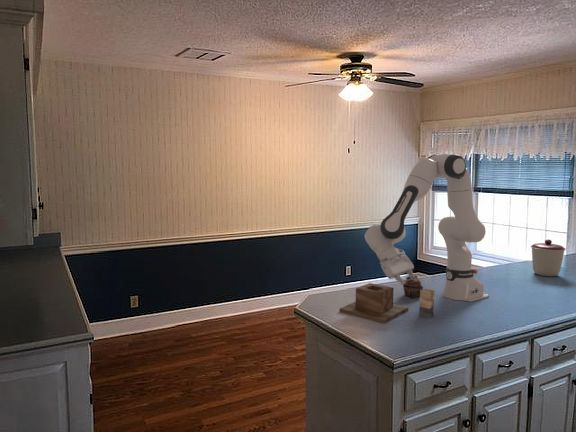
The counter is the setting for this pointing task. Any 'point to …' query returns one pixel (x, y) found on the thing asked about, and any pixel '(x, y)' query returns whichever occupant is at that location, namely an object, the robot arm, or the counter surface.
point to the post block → (374, 304)
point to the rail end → (426, 303)
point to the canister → (547, 258)
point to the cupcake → (412, 288)
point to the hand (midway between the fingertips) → (409, 281)
